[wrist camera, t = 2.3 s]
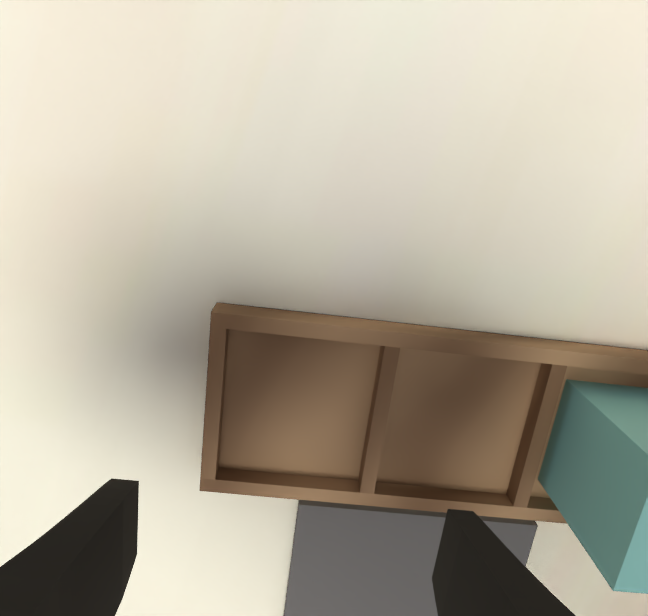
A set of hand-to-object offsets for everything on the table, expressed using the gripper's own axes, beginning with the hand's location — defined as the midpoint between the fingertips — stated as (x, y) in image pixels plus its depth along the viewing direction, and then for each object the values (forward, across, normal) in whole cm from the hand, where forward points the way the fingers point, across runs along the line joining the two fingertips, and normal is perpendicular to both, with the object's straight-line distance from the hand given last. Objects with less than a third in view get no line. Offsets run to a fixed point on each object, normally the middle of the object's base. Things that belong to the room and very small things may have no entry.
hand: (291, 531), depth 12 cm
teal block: (+6, -11, 0) cm, 13 cm away
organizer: (+6, -6, 0) cm, 8 cm away
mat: (+6, -5, +8) cm, 12 cm away
